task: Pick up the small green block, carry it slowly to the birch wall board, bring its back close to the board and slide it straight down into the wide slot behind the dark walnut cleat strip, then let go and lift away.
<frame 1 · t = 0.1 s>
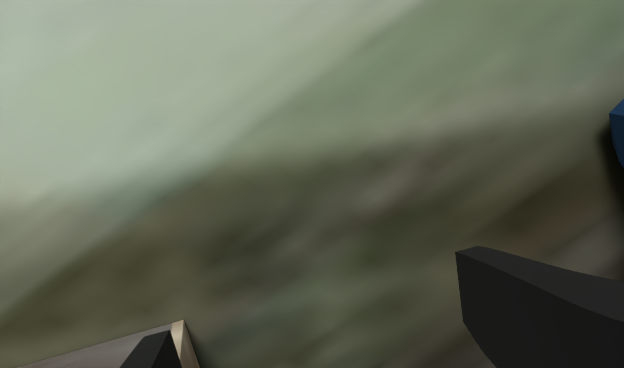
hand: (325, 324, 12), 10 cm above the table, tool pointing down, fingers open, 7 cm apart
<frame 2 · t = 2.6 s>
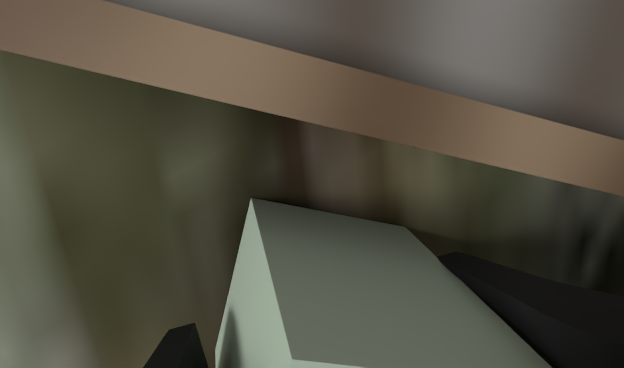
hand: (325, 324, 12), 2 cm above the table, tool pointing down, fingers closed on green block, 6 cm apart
green block: (310, 287, 14), on the table, touching gripper
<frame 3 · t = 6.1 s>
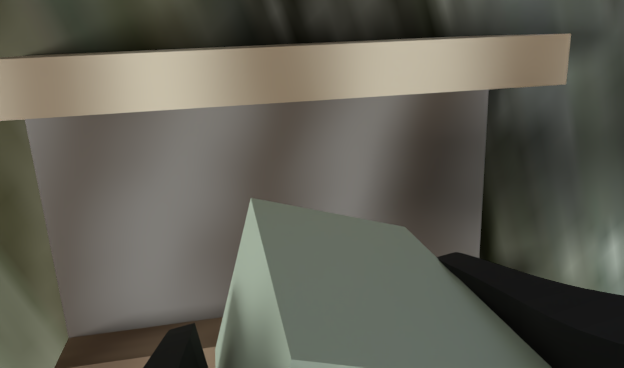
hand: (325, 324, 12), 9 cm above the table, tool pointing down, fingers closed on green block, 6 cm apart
green block: (310, 288, 14), point 7 cm above the table, touching gripper
cleat board: (269, 58, 19), on the table
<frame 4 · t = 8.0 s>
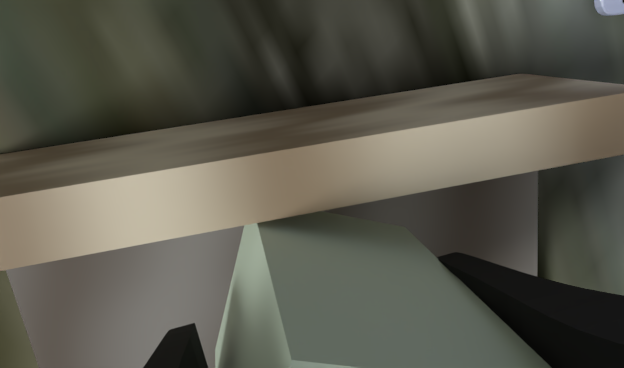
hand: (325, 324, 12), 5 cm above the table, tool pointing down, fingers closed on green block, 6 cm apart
green block: (310, 288, 14), point 3 cm above the table, touching gripper
cleat board: (276, 127, 16), on the table
when the fingers open (3 cm above the table, at t = 9.8 s): green block stays where it is, resting on cleat board.
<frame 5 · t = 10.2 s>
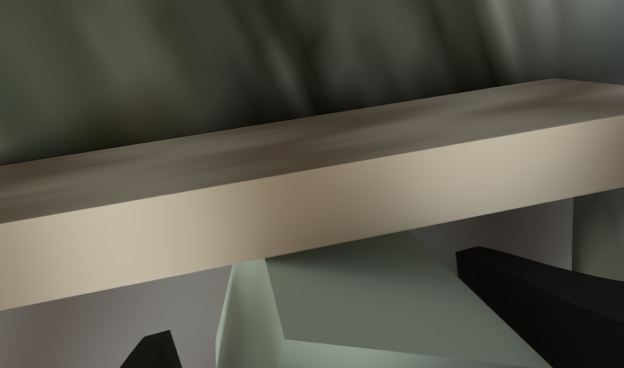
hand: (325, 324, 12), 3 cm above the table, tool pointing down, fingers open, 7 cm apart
green block: (307, 280, 14), point 1 cm above the table, touching cleat board
cleat board: (282, 138, 14), on the table
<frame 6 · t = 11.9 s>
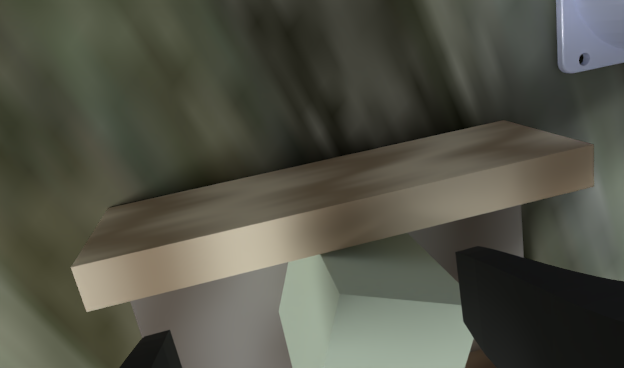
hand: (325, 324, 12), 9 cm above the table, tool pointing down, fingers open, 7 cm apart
green block: (338, 268, 21), point 1 cm above the table, touching cleat board
cleat board: (318, 173, 21), on the table
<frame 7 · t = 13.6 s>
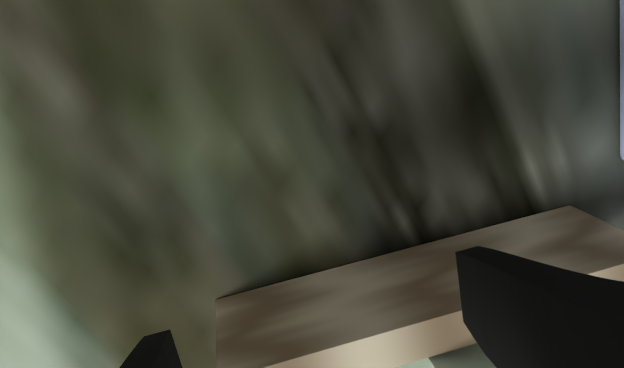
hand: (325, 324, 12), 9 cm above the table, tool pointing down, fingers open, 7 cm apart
green block: (421, 345, 23), point 1 cm above the table, touching cleat board
cleat board: (402, 260, 23), on the table
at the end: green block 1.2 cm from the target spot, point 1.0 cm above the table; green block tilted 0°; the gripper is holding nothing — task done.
